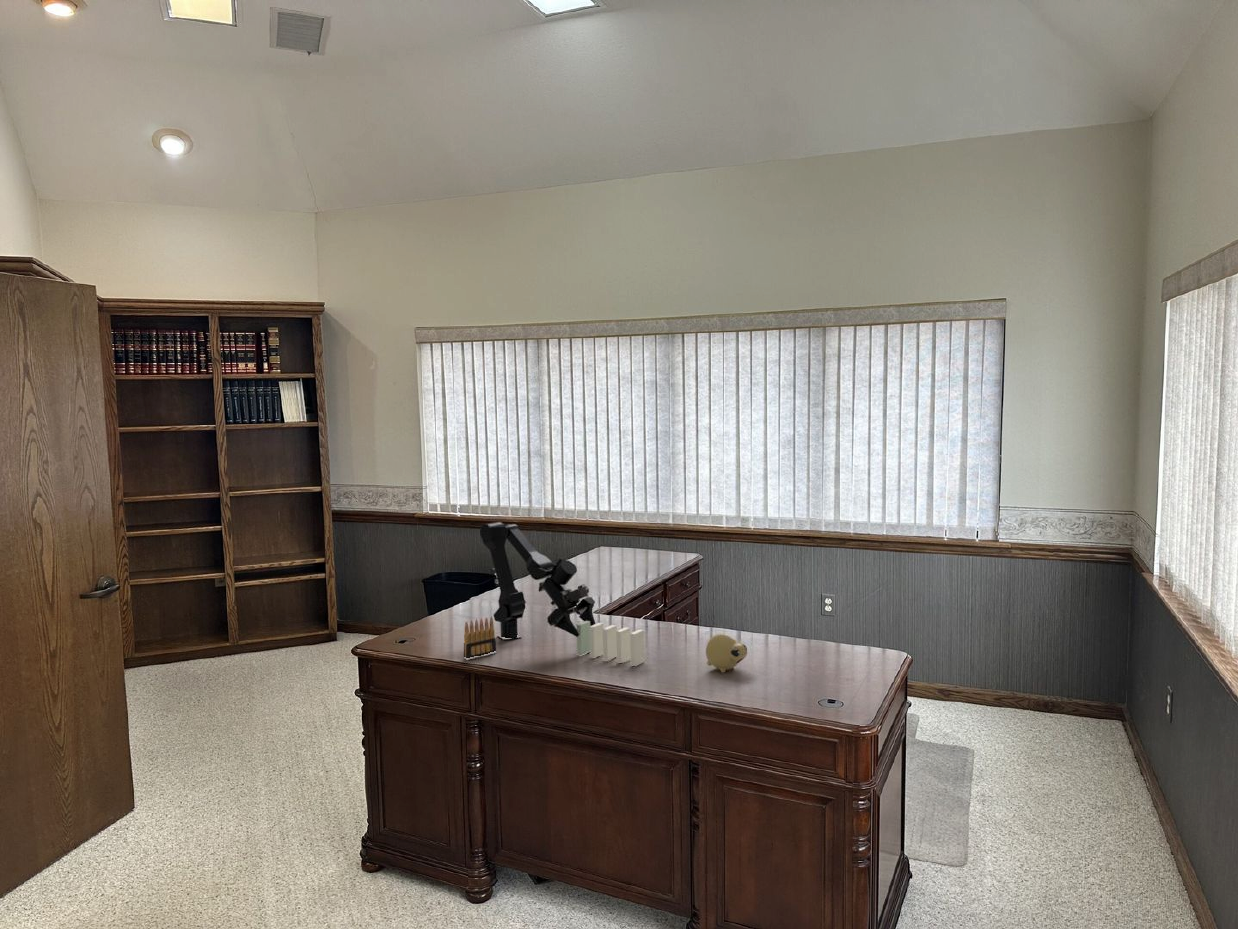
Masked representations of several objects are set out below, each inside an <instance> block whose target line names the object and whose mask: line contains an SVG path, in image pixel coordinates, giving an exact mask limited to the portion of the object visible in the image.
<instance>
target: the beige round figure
mask: <svg viewBox="0 0 1238 929" xmlns="http://www.w3.org/2000/svg"><path fill="white" fill-rule="evenodd" d="M747 655H748V647H747V645H746V644H743V643H740V642H738V641H737V640H736V639H734V638H733V637H731V636H729V635H728V634H725V633H717V634H715V635H713V636H712V637H711V638H710V639H709V640H708V642H707V644H706V647H705V656H706V659H707V663H706V664H707V666H709V667H711V666H713V667H715V668H716V669H719V670H720V673H724V674H725V672H726V671H728V670H732V668H733V669H734V668H735V667H736V666H737V665H738V664H739V663H740V662H742V660H745V658H746V657H747Z"/></svg>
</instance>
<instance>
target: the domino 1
mask: <svg viewBox="0 0 1238 929" xmlns="http://www.w3.org/2000/svg"><path fill="white" fill-rule="evenodd" d="M589 627H590V621H582V622H579V623H577V624H576V629H577V631H578V633H579V636H578V637H576V652H577V653H576V654H579V655H582V654H585V653H586V652H588V651H590V628H589Z"/></svg>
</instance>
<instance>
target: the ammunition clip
mask: <svg viewBox="0 0 1238 929" xmlns="http://www.w3.org/2000/svg"><path fill="white" fill-rule="evenodd" d="M464 623H465V624H464V643H463V658H464V657H466V658H470V657H474V656H481V655H484V654H488V653H490V652H494V651H496V652H497V643H496V642H497V640H496V637H495V636H496V635H495V634H496V633H495V626H494V617H493V616H492V615H491V616H490V619H488V617H485V619H484V620H483V618H480V621H479V622H478V619H475V621H474V622H473V620H470V623H468V621H465V622H464Z"/></svg>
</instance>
